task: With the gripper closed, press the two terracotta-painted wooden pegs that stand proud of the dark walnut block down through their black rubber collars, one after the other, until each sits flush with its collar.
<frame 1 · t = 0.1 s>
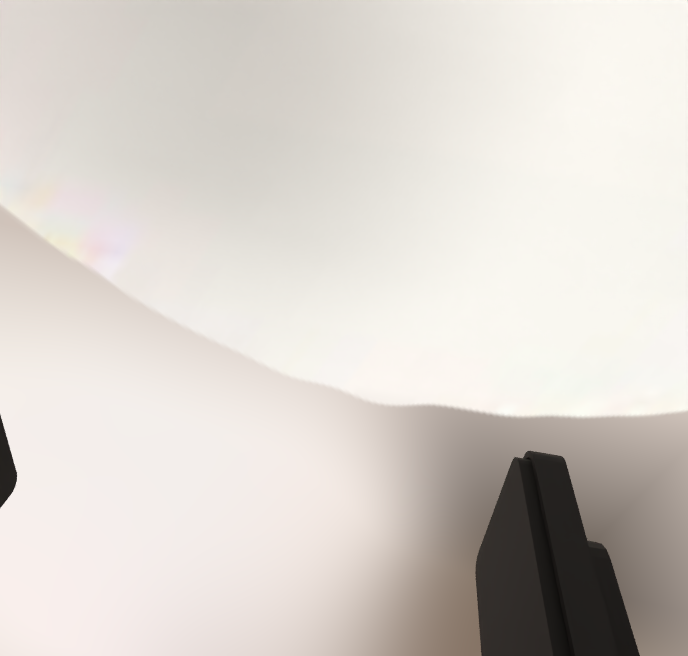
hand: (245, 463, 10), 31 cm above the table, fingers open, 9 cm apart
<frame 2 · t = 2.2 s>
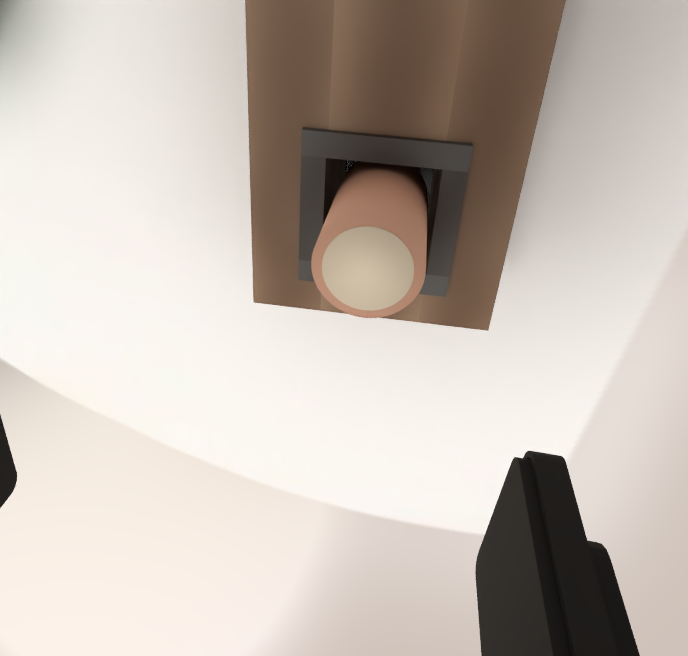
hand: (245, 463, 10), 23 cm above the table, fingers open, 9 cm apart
peg a: (376, 229, 23), point 9 cm above the table, slide at 5.0 cm
walnut block: (403, 36, 27), on the table
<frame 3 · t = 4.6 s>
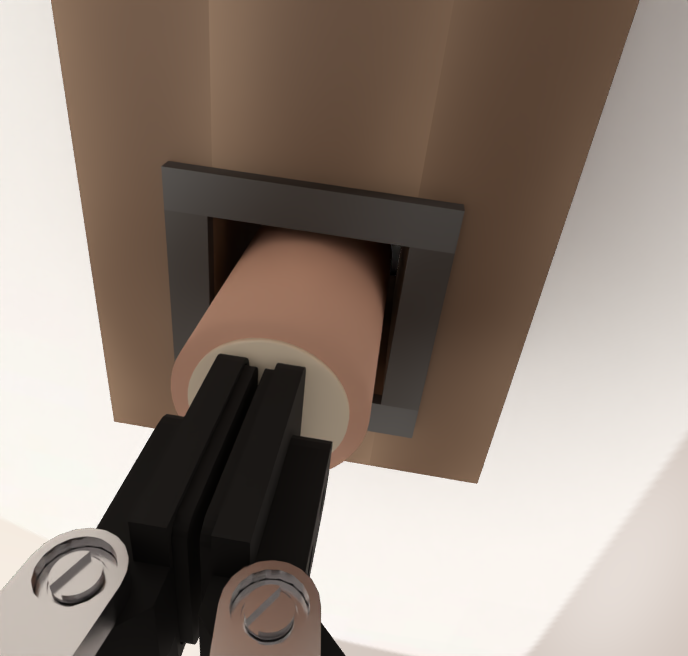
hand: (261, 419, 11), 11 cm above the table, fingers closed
peg a: (301, 315, 14), point 7 cm above the table, slide at 3.7 cm, touching gripper
walnut block: (361, 16, 17), on the table
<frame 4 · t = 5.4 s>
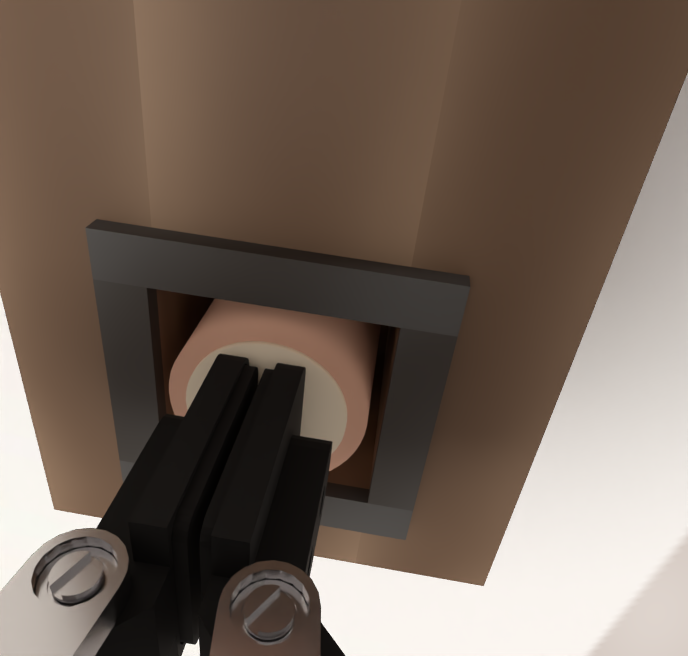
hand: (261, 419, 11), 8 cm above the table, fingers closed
peg a: (299, 318, 14), point 4 cm above the table, slide at 0.5 cm, touching gripper
walnut block: (346, 32, 15), on the table
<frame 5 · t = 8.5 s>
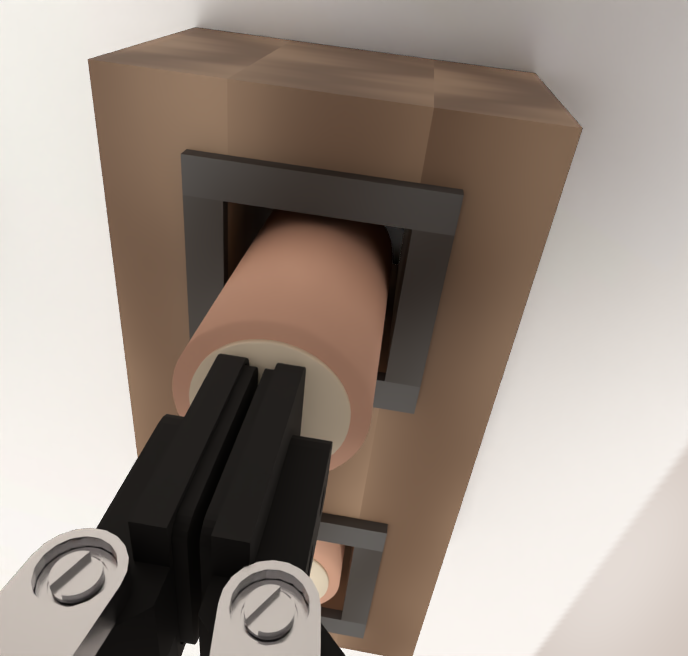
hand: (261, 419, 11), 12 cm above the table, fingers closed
peg a: (303, 503, 25), point 4 cm above the table, slide at 0.4 cm
peg b: (303, 316, 14), point 8 cm above the table, slide at 4.8 cm, touching gripper
walnut block: (330, 334, 25), on the table
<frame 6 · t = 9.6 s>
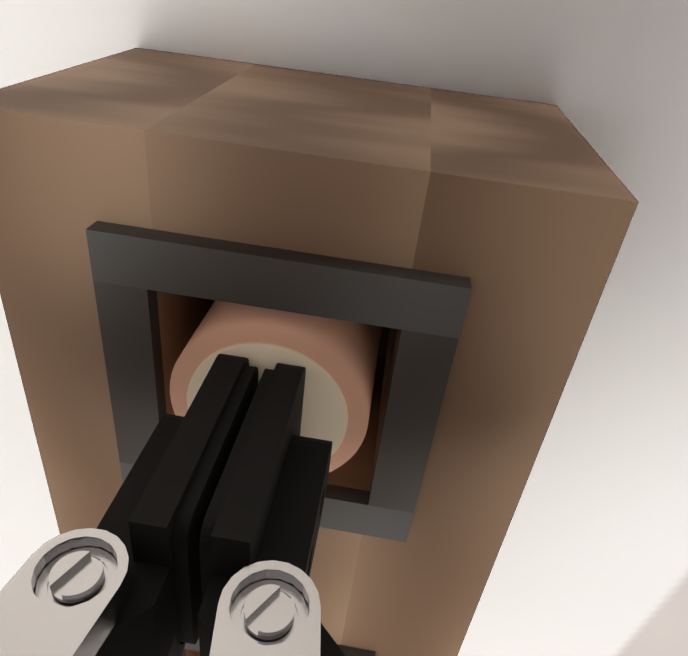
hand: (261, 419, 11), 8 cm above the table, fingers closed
peg b: (300, 319, 14), point 4 cm above the table, slide at 0.4 cm, touching gripper
walnut block: (310, 401, 21), on the table
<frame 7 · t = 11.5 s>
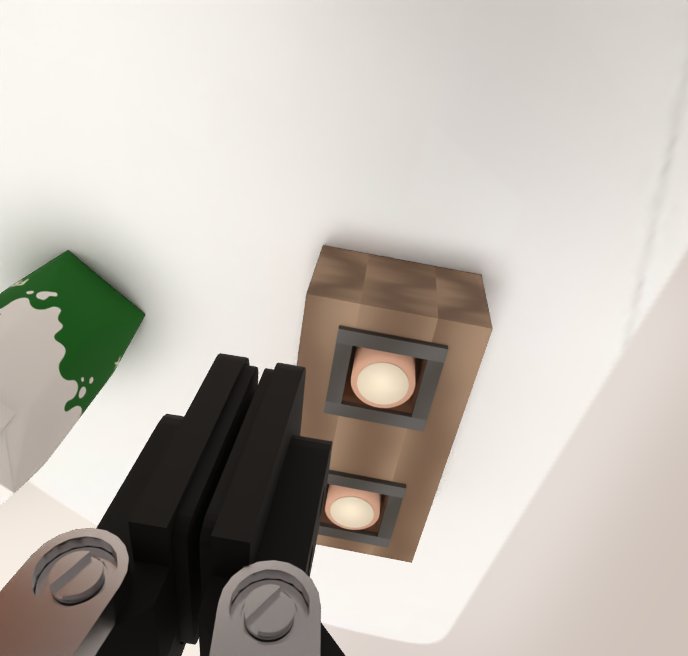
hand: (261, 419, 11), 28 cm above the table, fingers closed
milk carton: (85, 308, 45), on the table
peg a: (356, 476, 45), point 4 cm above the table, slide at 0.4 cm
peg b: (385, 352, 39), point 4 cm above the table, slide at 0.4 cm
walnut block: (373, 385, 46), on the table
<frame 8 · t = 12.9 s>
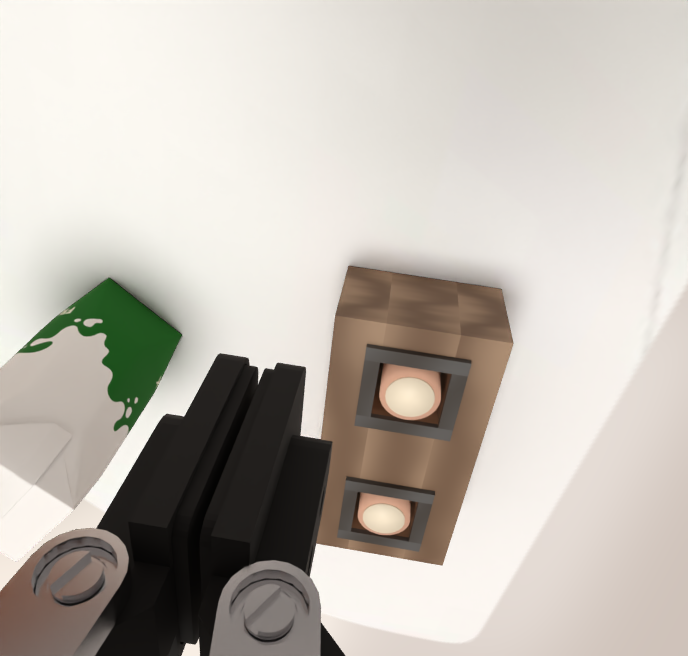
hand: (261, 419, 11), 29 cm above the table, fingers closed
milk carton: (126, 330, 48), on the table
peg a: (386, 484, 47), point 4 cm above the table, slide at 0.4 cm
peg b: (411, 366, 41), point 4 cm above the table, slide at 0.4 cm
walnut block: (400, 396, 48), on the table
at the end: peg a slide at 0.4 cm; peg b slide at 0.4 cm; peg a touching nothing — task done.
